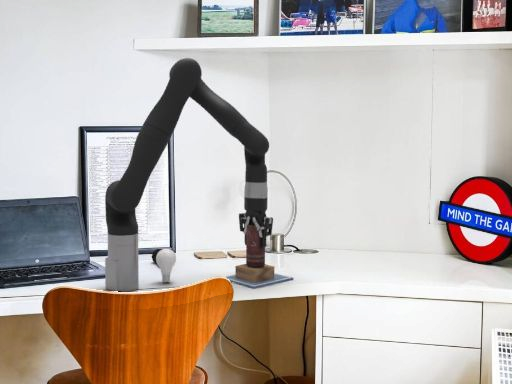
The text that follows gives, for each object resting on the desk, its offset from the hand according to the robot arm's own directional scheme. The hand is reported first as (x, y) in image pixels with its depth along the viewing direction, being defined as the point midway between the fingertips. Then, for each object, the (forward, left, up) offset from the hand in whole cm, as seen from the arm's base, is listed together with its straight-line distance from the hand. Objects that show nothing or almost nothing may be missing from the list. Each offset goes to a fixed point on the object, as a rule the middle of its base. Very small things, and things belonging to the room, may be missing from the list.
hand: (255, 246), depth 218 cm
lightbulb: (-24, +16, -11) cm, 31 cm away
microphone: (-12, +35, -12) cm, 39 cm away
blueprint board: (+1, 0, -11) cm, 11 cm away
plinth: (0, 0, -10) cm, 10 cm away
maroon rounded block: (0, 0, -7) cm, 7 cm away
